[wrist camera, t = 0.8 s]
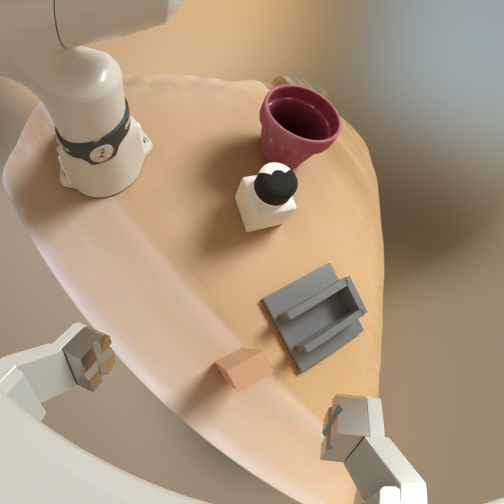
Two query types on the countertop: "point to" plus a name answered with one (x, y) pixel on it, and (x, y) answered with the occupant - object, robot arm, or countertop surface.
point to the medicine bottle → (267, 197)
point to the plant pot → (296, 124)
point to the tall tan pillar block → (244, 367)
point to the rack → (316, 315)
